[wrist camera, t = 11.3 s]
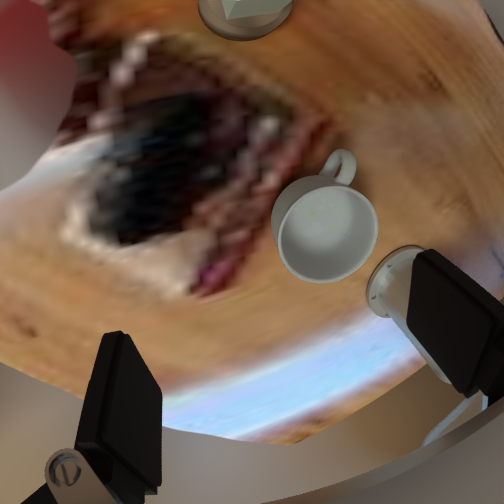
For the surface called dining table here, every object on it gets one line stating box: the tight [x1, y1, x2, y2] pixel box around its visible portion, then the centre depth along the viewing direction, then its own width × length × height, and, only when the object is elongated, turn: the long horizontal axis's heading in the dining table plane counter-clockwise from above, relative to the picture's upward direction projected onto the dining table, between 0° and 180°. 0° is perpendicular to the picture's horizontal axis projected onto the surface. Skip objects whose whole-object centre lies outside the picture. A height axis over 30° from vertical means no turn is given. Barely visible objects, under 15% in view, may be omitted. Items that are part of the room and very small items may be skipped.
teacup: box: [271, 149, 378, 283], centre depth 33 cm, size 14×11×8 cm
